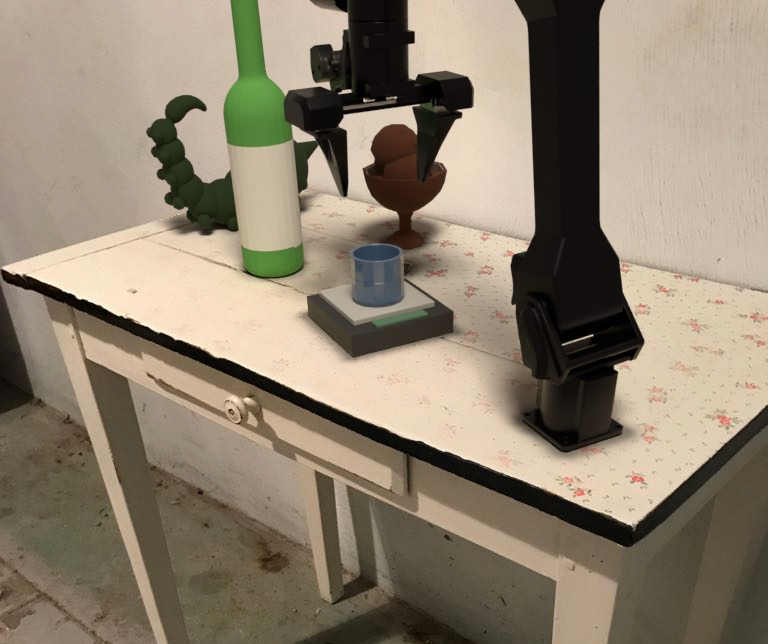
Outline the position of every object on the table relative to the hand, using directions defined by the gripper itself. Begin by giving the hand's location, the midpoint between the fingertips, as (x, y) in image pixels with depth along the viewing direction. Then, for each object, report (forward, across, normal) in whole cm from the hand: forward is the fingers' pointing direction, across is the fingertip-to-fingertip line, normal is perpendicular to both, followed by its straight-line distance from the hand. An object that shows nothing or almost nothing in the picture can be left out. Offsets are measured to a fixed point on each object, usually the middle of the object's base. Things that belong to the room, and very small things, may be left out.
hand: (383, 189), depth 87 cm
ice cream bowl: (+13, -12, -18) cm, 25 cm away
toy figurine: (+13, +3, -38) cm, 41 cm away
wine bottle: (+13, +7, -18) cm, 23 cm away
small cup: (+10, +3, +4) cm, 11 cm away
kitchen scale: (+13, +3, +4) cm, 14 cm away
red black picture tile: (+13, -6, -10) cm, 18 cm away
